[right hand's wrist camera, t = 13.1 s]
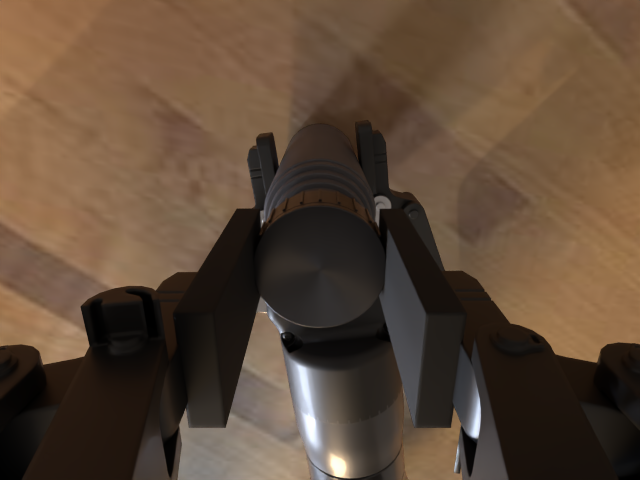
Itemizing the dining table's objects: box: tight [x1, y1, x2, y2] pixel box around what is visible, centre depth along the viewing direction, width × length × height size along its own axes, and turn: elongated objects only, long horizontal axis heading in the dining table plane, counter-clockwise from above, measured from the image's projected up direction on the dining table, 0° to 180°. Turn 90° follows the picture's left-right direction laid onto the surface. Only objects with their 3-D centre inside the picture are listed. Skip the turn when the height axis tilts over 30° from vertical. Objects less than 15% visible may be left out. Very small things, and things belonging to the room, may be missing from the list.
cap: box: [254, 189, 386, 328], centre depth 13 cm, size 4×4×2 cm
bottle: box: [264, 124, 376, 222], centre depth 21 cm, size 5×5×18 cm
